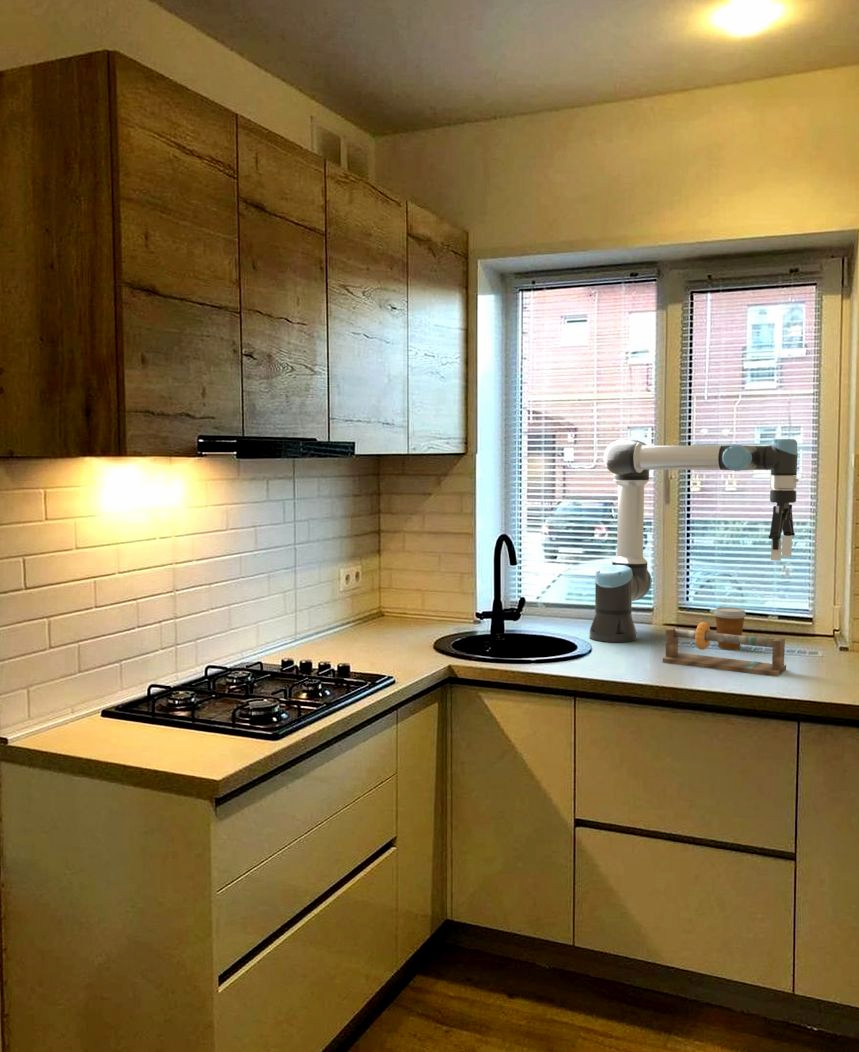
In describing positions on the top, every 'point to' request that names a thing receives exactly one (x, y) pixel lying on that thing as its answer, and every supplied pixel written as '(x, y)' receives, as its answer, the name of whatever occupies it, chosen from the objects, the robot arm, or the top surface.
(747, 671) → the pipe stand
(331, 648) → the top surface
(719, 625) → the disposable coffee cup
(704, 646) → the o-ring
